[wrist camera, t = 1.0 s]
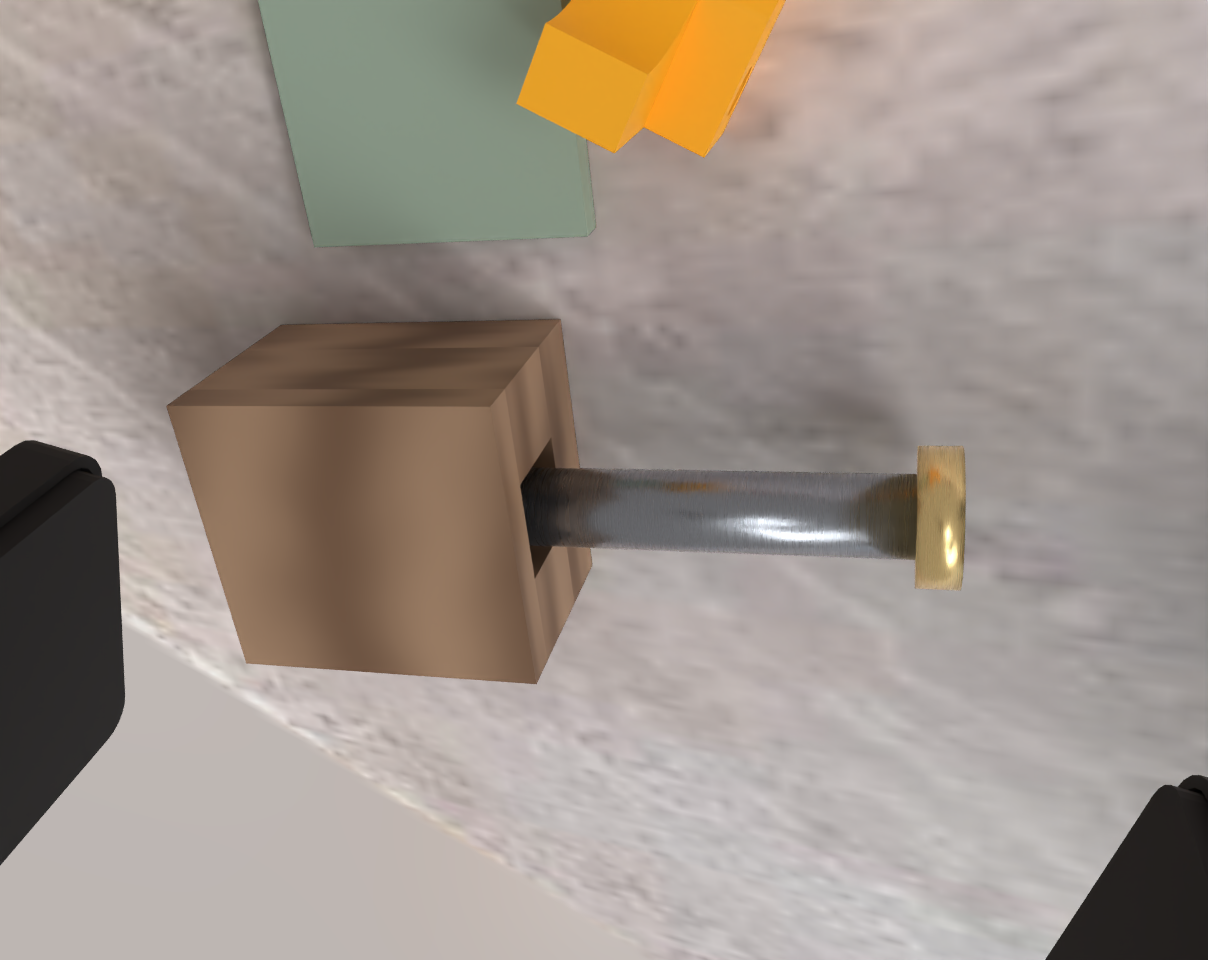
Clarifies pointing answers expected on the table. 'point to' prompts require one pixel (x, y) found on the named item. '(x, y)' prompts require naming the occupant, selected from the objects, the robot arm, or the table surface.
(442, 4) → the plate
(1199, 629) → the table surface
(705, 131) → the pipe clamp
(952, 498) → the shaft
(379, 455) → the shaft housing
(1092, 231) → the table surface
